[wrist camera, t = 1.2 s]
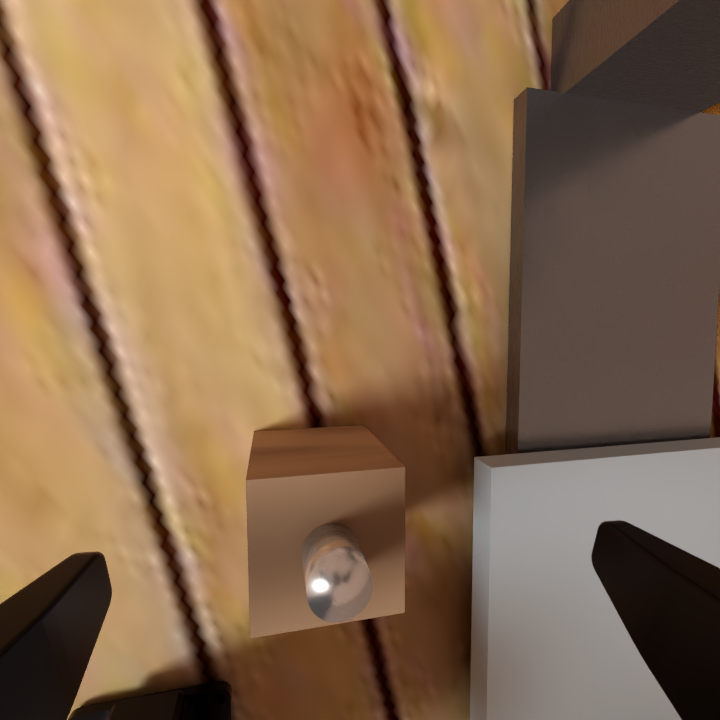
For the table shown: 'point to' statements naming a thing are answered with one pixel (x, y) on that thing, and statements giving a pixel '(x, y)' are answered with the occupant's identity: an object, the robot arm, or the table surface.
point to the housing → (323, 529)
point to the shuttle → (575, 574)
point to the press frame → (617, 230)
